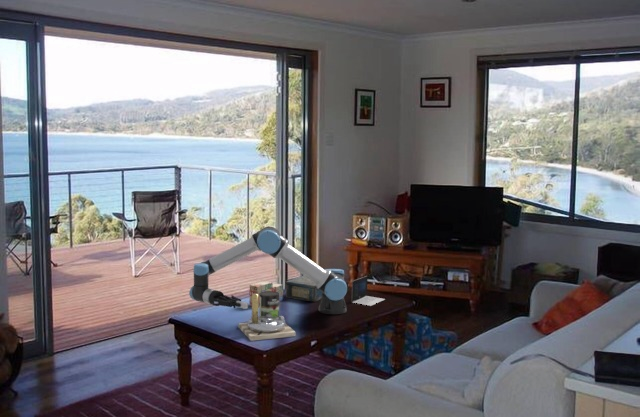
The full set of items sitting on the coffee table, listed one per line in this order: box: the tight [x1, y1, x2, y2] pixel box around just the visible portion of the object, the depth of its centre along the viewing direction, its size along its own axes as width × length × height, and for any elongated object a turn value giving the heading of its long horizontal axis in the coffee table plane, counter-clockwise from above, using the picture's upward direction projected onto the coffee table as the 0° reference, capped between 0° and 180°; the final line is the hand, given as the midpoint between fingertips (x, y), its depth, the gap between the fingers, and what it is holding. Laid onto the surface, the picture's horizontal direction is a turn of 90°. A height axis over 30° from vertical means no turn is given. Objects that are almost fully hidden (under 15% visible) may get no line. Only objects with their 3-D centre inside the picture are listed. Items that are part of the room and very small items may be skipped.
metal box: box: [285, 274, 322, 303], centre depth 396 cm, size 21×32×10 cm, turn 152°
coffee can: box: [258, 291, 280, 317], centre depth 341 cm, size 10×10×14 cm
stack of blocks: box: [248, 280, 284, 309], centre depth 374 cm, size 21×6×12 cm, turn 142°
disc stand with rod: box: [247, 293, 286, 333], centre depth 321 cm, size 18×18×17 cm
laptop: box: [351, 275, 386, 307], centre depth 382 cm, size 18×12×13 cm
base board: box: [238, 322, 296, 342], centre depth 322 cm, size 22×22×2 cm
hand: (246, 306), depth 322 cm, fingers closed
